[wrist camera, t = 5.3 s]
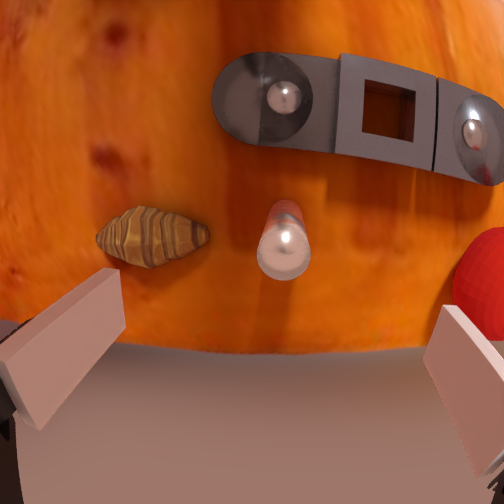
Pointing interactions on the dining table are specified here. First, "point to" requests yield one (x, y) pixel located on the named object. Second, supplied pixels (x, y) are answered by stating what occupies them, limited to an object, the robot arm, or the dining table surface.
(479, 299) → the tomato
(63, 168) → the dining table surface
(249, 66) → the chain end
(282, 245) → the steel pin
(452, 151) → the chain end
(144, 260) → the croissant
